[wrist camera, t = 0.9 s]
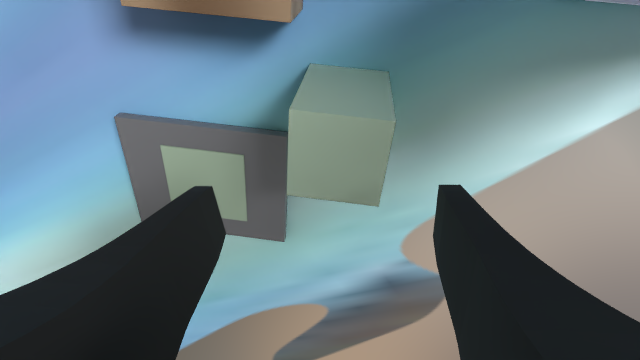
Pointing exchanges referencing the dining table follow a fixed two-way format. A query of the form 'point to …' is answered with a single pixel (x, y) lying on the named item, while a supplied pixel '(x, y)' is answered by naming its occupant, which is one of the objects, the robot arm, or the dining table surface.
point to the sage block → (340, 134)
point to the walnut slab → (228, 7)
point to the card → (209, 169)
